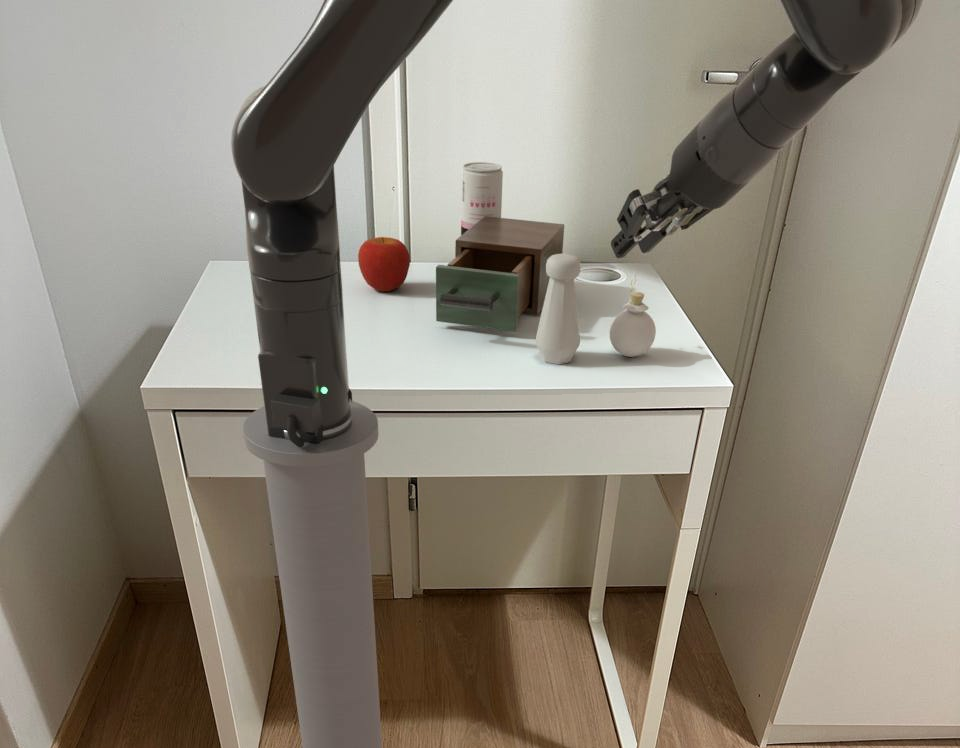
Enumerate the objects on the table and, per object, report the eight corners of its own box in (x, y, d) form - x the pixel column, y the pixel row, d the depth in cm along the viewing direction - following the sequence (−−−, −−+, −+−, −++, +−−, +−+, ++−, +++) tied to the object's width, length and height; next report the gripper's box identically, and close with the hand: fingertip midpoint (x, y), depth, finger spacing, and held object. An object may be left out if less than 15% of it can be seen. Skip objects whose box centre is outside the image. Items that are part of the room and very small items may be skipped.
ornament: (612, 364, 120) (621, 286, 114) (601, 343, 126) (609, 268, 120) (657, 363, 120) (668, 285, 114) (643, 343, 126) (654, 268, 120)
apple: (412, 296, 140) (410, 242, 135) (360, 297, 139) (357, 243, 134) (408, 280, 146) (407, 229, 141) (359, 281, 145) (356, 229, 140)
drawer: (505, 343, 122) (507, 287, 118) (424, 332, 125) (423, 277, 120) (539, 301, 136) (542, 249, 132) (465, 292, 139) (466, 241, 134)
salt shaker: (586, 362, 120) (596, 259, 112) (550, 369, 118) (558, 265, 110) (561, 347, 124) (569, 247, 116) (526, 354, 122) (532, 253, 114)
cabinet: (537, 315, 134) (541, 249, 128) (454, 305, 137) (455, 239, 131) (559, 286, 145) (564, 224, 140) (483, 277, 148) (484, 216, 142)
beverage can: (462, 258, 156) (463, 161, 147) (500, 259, 156) (504, 162, 147) (458, 269, 151) (459, 169, 142) (498, 271, 151) (501, 171, 142)
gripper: (762, 106, 92) (659, 210, 107) (662, 117, 85) (568, 226, 101) (792, 174, 92) (684, 268, 107) (694, 190, 85) (595, 288, 101)
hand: (628, 247), depth 104 cm, fingers open, 3 cm apart
